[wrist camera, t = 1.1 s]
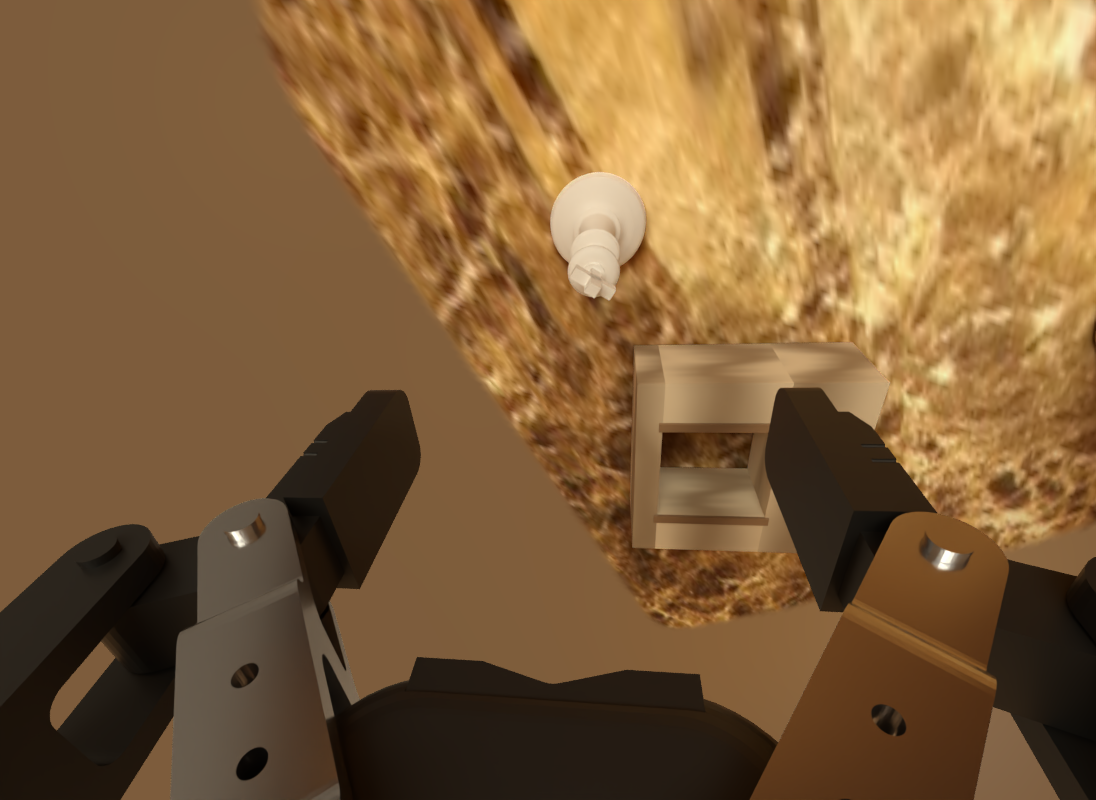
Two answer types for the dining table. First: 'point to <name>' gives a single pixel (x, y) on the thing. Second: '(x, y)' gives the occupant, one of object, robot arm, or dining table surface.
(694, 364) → the socket block
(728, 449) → the dining table surface
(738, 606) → the dining table surface
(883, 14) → the dining table surface
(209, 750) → the robot arm
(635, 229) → the chess piece
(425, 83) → the dining table surface
